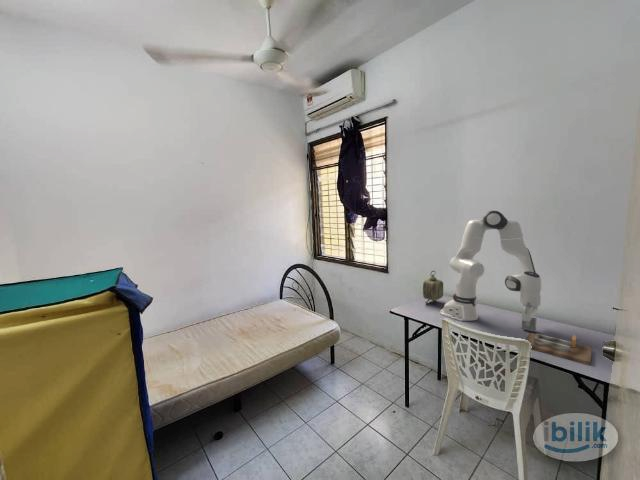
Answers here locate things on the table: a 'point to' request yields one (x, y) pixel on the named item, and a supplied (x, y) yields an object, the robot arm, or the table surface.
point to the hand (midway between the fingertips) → (528, 324)
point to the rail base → (560, 348)
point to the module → (532, 325)
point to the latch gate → (573, 341)
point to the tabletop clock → (432, 289)
